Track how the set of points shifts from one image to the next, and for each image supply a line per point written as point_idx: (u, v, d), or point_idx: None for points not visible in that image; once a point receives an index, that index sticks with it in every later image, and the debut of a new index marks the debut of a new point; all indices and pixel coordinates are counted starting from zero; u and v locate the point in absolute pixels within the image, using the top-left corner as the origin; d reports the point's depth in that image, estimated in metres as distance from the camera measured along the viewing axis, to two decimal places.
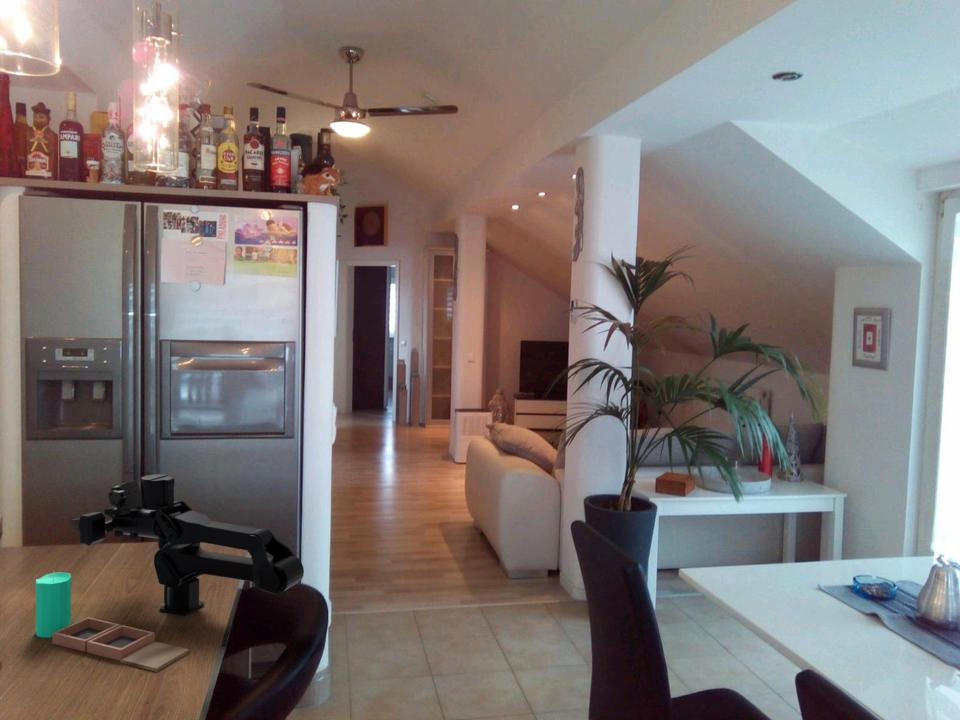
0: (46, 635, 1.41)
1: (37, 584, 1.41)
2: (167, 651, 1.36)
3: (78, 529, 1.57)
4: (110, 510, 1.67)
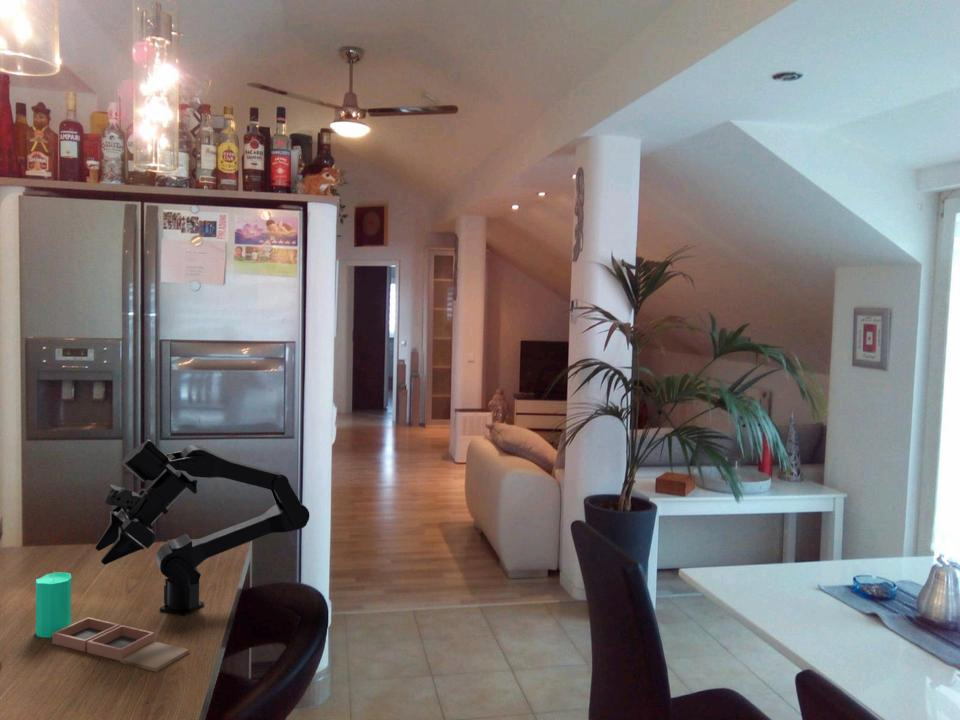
0: (46, 635, 1.41)
1: (37, 584, 1.41)
2: (167, 651, 1.36)
3: (120, 554, 1.44)
4: (102, 541, 1.51)
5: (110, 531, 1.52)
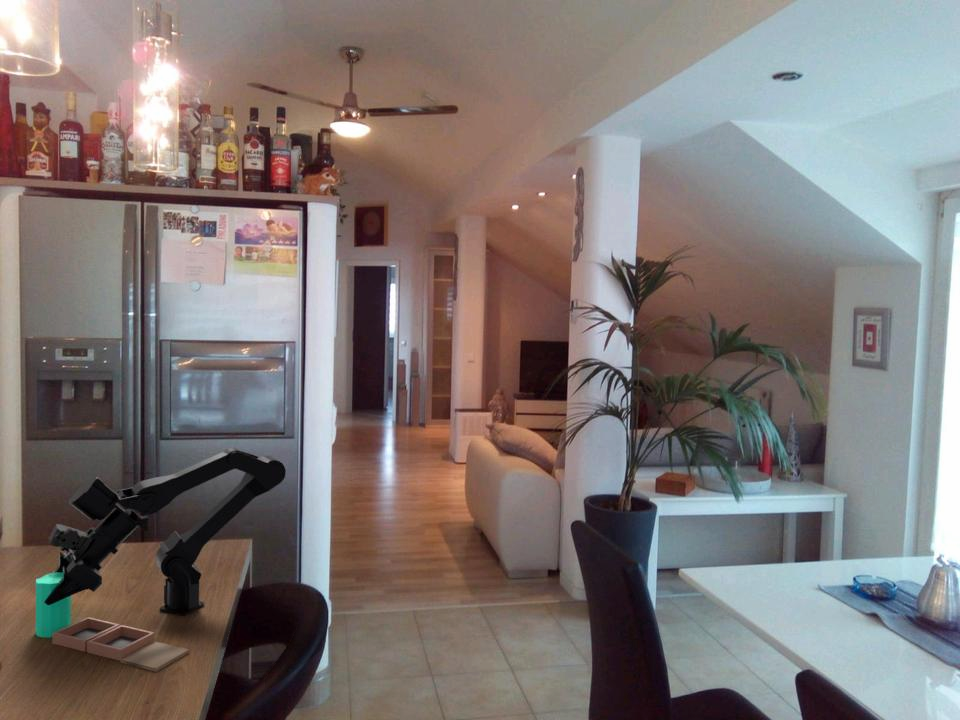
0: (46, 635, 1.41)
1: (37, 584, 1.41)
2: (167, 651, 1.36)
3: (65, 595, 1.41)
4: None
5: None
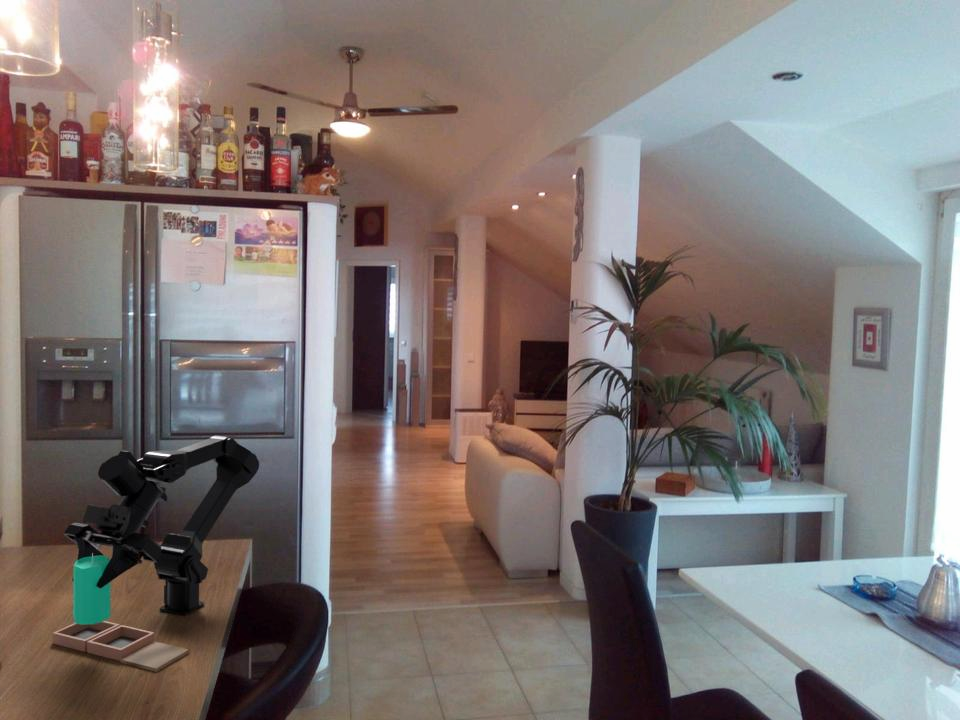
0: (96, 621, 1.33)
1: (84, 569, 1.31)
2: (167, 651, 1.36)
3: (116, 574, 1.34)
4: None
5: None
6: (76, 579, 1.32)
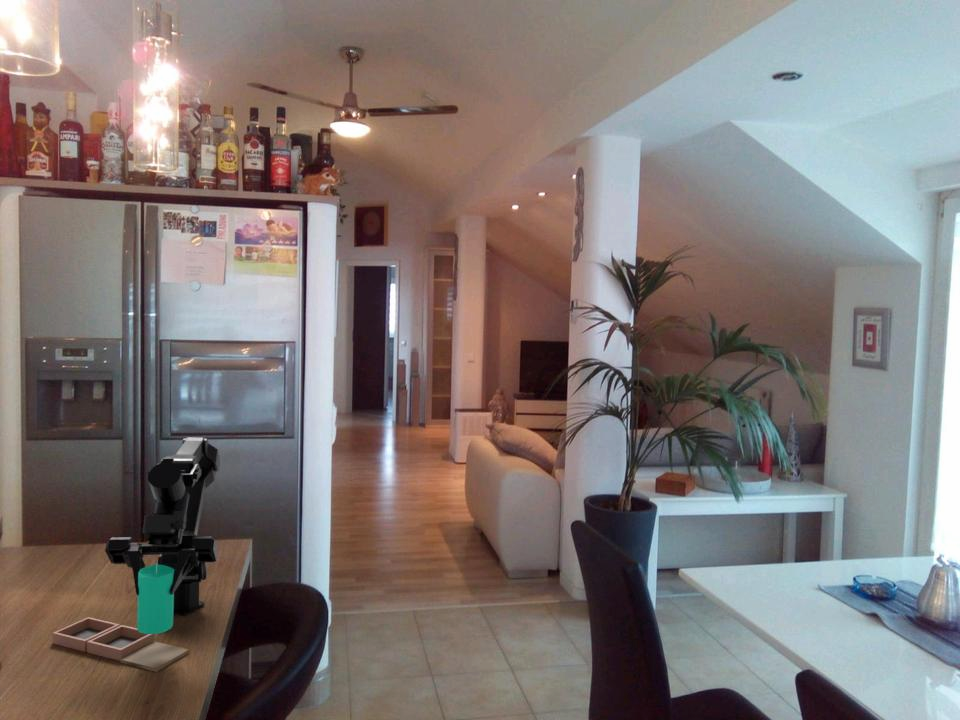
0: (168, 627, 1.33)
1: (158, 578, 1.31)
2: (167, 651, 1.36)
3: (181, 579, 1.36)
4: None
5: None
6: (148, 590, 1.31)
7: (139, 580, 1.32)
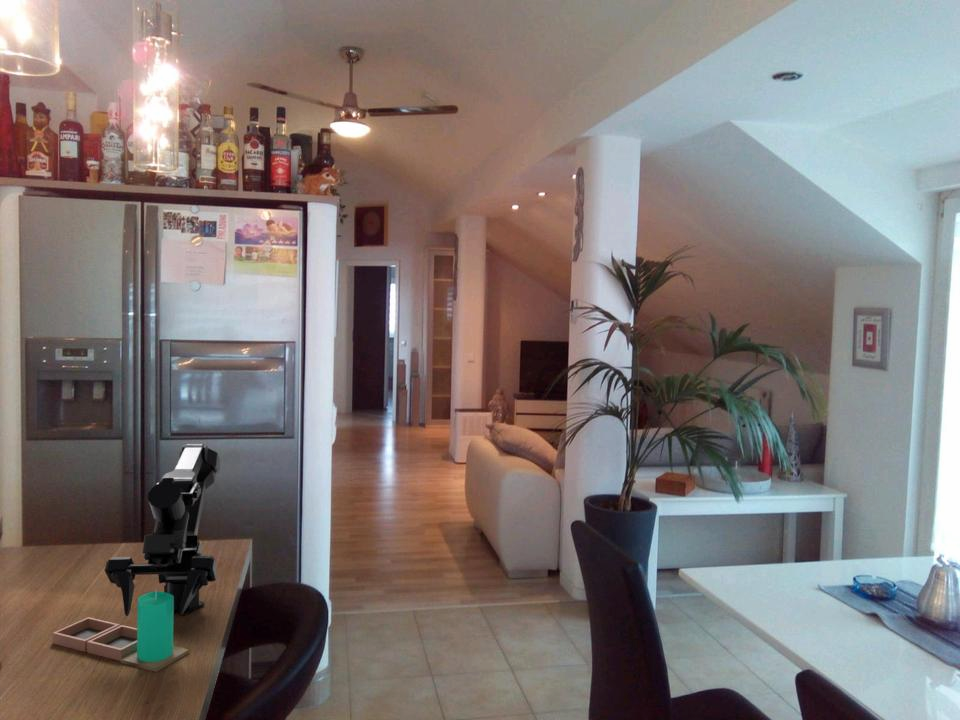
0: (168, 655, 1.34)
1: (158, 606, 1.31)
2: None
3: (191, 598, 1.36)
4: (129, 604, 1.33)
5: (129, 590, 1.34)
6: (148, 617, 1.31)
7: (138, 608, 1.32)
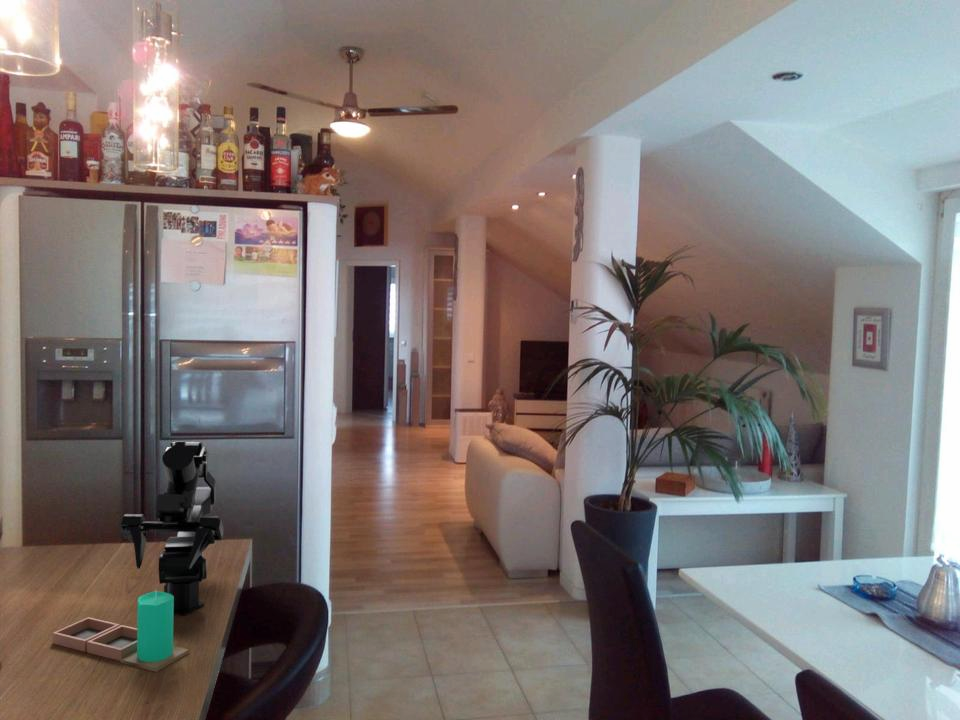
0: (168, 655, 1.34)
1: (157, 606, 1.31)
2: None
3: (198, 555, 1.45)
4: (140, 558, 1.42)
5: (141, 545, 1.43)
6: (148, 617, 1.31)
7: (138, 608, 1.32)
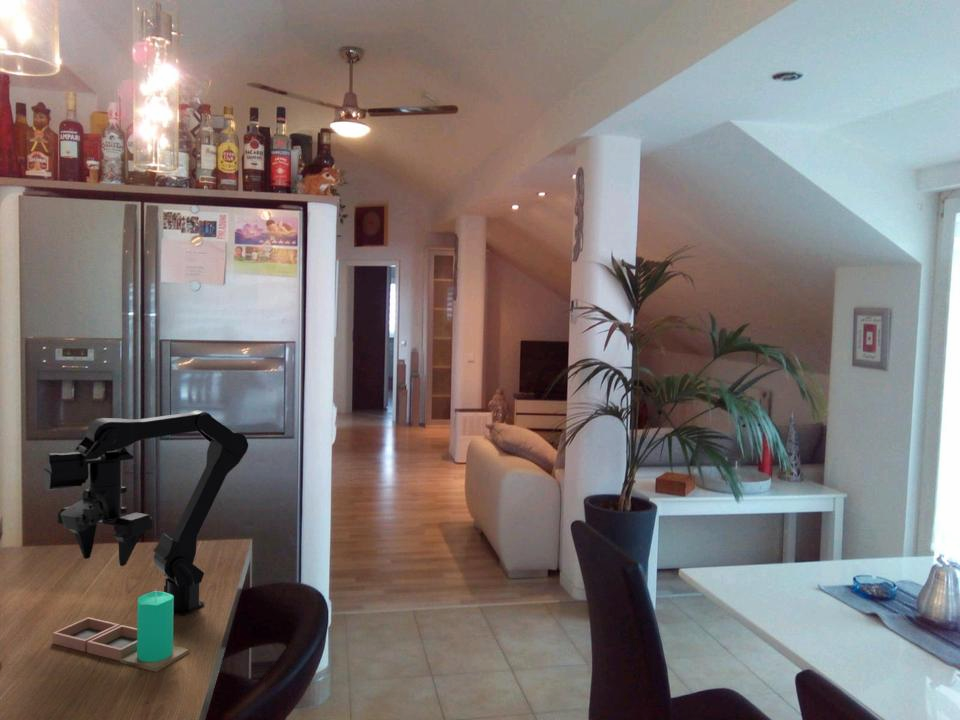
0: (168, 654, 1.34)
1: (157, 606, 1.31)
2: None
3: (131, 548, 1.44)
4: (86, 550, 1.47)
5: (84, 538, 1.46)
6: (147, 617, 1.31)
7: (138, 608, 1.32)
